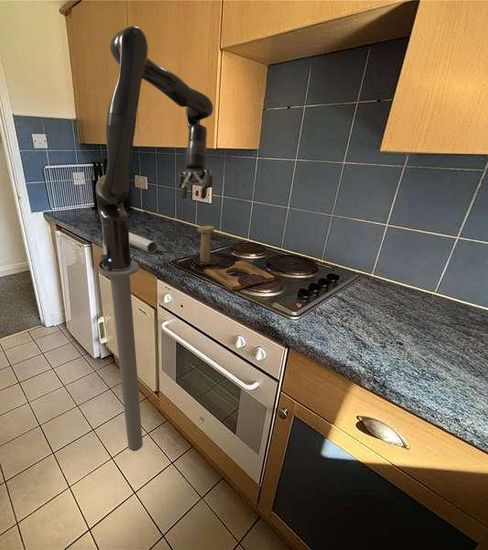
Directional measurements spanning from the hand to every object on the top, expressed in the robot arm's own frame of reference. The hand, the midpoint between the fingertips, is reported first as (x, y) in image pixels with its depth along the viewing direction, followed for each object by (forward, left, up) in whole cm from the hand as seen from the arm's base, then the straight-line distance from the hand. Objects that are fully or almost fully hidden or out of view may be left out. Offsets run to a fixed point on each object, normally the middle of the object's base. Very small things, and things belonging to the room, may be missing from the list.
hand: (193, 198), depth 117 cm
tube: (-16, +24, -24) cm, 38 cm away
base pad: (+5, -25, -24) cm, 35 cm away
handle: (0, -10, -24) cm, 26 cm away
